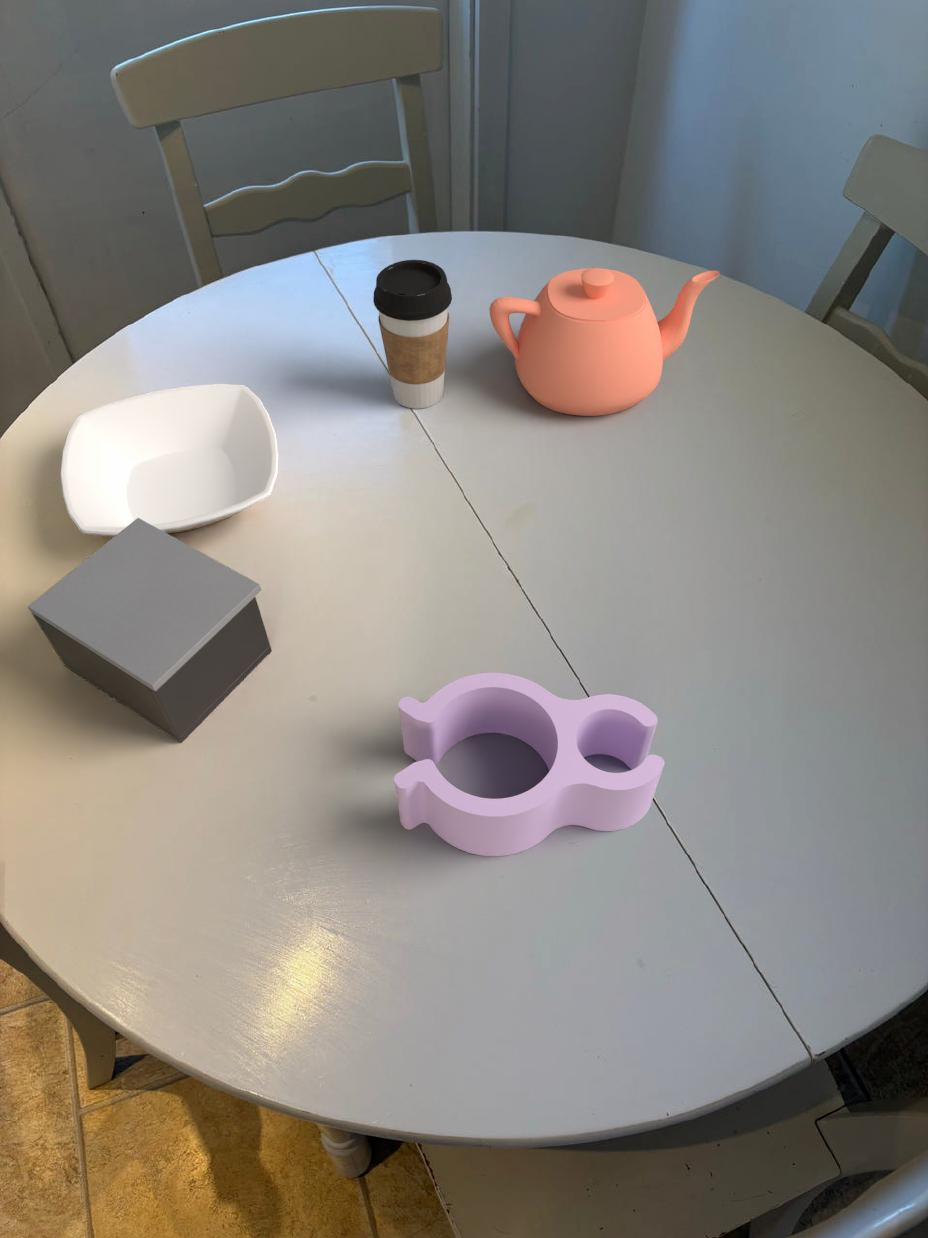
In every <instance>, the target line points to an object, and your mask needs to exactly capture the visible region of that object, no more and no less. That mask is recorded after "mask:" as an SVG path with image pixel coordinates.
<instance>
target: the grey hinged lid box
mask: <svg viewBox="0 0 928 1238" xmlns="http://www.w3.org/2000/svg"><path fill="white" fill-rule="evenodd" d="M31 615H32V616H33V618H34V619H35V621H36V623H37V624H38V626H39V627H40V629H41V630H42V632H43V634H44V636H45V637H46V639H47V640H48V641H49V644H50V645H51V646H52V648H53V650H54V651H55V653H56V654H57V656H58V658H59V659H60V661H61V663H62V664H63V666H64V667H65V668H67V669H68V670H70V671H71V672H73V674H76V675H77V676H79V677H81V679H83V680H85V681H86V682H88V683H90V684H91V685H93V686H94V687H95V688H97V689H99V690H100V691H102V692H103V693H104V694H106V695H108V696H109V697H110V698H112V699H114V700H115V701H116V702H118V703H119V704H121V705H122V706H124V707H126V708H127V709H129V710H131V711H132V712H134V713H135V714H137V715H138V716H139V717H141V718H143V719H144V720H146V721H148V723H150V724H152V725H153V726H154V727H156V728H158V729H159V730H160V731H162V732H164V733H165V734H167V735H168V736H169V737H171V738H173V739H174V740H176V741H178V742H179V743H180V744H182V743H183V742H185V740H186V739H187V738H188V737H189V736H190V735H191V734H192V733H193V732H194V731H195V730H196V729H197V728H198V727H199V726H201V724H202V723H203V722H204V721H205V720H206V719H207V718H208V717H209V716H210V715H211V713H213V712H214V711H215V709H217V708H218V706H220V705H221V703H223V701H224V700H225V699H226V698H227V697H228V696H230V694H231V693H232V692H233V691H234V690H235V689H236V688H237V687H238V686H239V685H240V684H241V683H242V682H243V681H244V680H245V679H246V678H247V677H248V676H249V675H250V674H251V673H252V672H253V671H254V670H255V669H256V668H257V667H258V666H259V665H260V663H262V661H264V660H265V658H267V656H269V655H270V653H271V652H272V647H271V644H270V640H269V637H268V634H267V630H266V627H265V624H264V621H263V617H262V614H261V609H260V607H259V604H258V601H257V598H256V596H255V597H254V598H253V599H252V600H251V601H250V602H249V603H248V604H247V605H246V606H245V607H243V608H242V609H241V610H240V611H239V612H238V613H237V614H236V615H235V616H234V617H233V618H232V619H231V620H230V621H229V622H228V623H227V624H226V625H225V626H224V627H223V628H221V629H220V630H219V631H218V632H217V633H216V634H215V635H214V636H213V637H212V638H211V639H210V640H209V641H208V642H207V643H206V644H205V645H204V646H203V647H202V648H200V649H199V650H198V651H197V652H196V653H195V654H194V655H193V656H192V657H191V658H190V659H189V660H188V661H187V662H186V663H185V664H184V665H183V666H182V667H181V668H180V669H178V670H177V671H176V672H175V673H174V674H173V675H172V676H171V677H170V678H169V679H168V680H167V681H166V682H165V683H164V684H163V685H162V686H161V687H160V688H159V689H157V690H156V691H153V690H152V689H150V688H149V687H147V686H146V685H144V684H142V683H141V682H139V681H138V680H136V679H135V678H133V677H132V676H130V675H128V674H127V673H125V672H124V671H122V670H121V669H119V668H117V667H116V666H114V665H113V664H111V663H110V662H108V661H107V660H105V659H103V658H102V657H100V656H99V655H97V654H96V653H94V652H92V651H91V650H89V649H88V648H86V647H85V646H83V645H82V644H80V643H78V642H77V641H75V640H74V639H72V638H71V637H69V636H67V635H66V634H64V633H63V632H61V631H60V630H58V629H57V628H55V627H53V626H52V625H50V624H49V623H47V622H46V621H44V620H42V619H41V618H39V617H38V616H36V615H35V614H33V613H32V612H31Z"/></svg>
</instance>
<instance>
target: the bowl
mask: <svg viewBox="0 0 928 1238" xmlns="http://www.w3.org/2000/svg"><path fill="white" fill-rule="evenodd" d="M273 425H274V424H273V423H272V420H271V417H270V415H269V412H268V411H267V409H266V407H265V405H264V403H263V402H262V399H260V398H259V396H257V395H256V393H254V392H253V391H252V390H251V389H250V388H249V387H247V386H246V385H243V384H231V383H230V384H229V383H212V384H200V385H199V384H198V385H187V386H180V387H174V388H165V389H159V390H156V391H155V390H154V391H150V392H145V393H141V394H136V395H133V396H129V397H126V398H122V399H118V400H115V401H112V402H107V403H104V404H101V405H99V406H96V407H95V408H92V409H90V410H88V411H85V412H83V413H81V414H79V415H78V416H77V417H76V419H75V420H74V422H73V424H72V426H71V427H70V429H69V431H68V433H67V434H66V438H65V441H64V445H63V448H62V454H61V464H60V471H59V474H60V475H59V476H60V483H61V492H62V498H63V501H64V504H65V508H66V510H67V514H68V516H69V517H70V519H71V520H72V522H73V523H74V525H75V526H76V527H77V528H78V530H79V531H80V532H81V533H82V534H85V535H88V536H89V535H90V536H92V535H93V536H103V537H104V536H105V537H115V536H116V535H117V534H118V533H120V532H121V531H122V530H123V529H125V528H126V527H127V526H128V525H129V524H131V523H132V522H133V521H134V520H136V519H137V518H140V519H142V520H143V521H145V522H147V523H149V524H151V525H152V526H154V527H156V528H158V529H160V530H162V531H163V532H165V533H167V534H175V533H176V534H177V533H181V532H188V531H192V530H197V529H199V528H203V527H206V526H209V525H212V524H215V523H218V522H221V521H224V520H227V519H228V518H231V517H233V516H235V515H237V514H239V513H241V512H243V511H244V510H247V509H248V508H250V507H252V506H254V505H256V504H258V503H260V502H262V501H263V500H265V499H267V498H269V497H270V496H271V494H272V493H273V490H274V487H275V484H276V481H277V478H278V476H279V457H280V455H279V448H278V441H277V440H278V439H277V434H276V431H275V427H274V426H273Z"/></svg>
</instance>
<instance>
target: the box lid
mask: <svg viewBox="0 0 928 1238" xmlns="http://www.w3.org/2000/svg"><path fill="white" fill-rule="evenodd" d="M261 591H262V587H261V584H260V583H258V582H257V581H254V580H252V579H251V578H249V577H248V576H246V575H243V574H241V573H240V572H237V571H236V570H234V568H233V569H232V568H231V567H229V566H228V565H226V564H224V563H222V562H220V561H219V560H216V559H214V558H213V557H211V556H208V555H207V554H205V553H204V552H202V551H200V550H198V549H197V548H194V547H193V546H191V545H189V544H187V543H185V542H184V541H181V540H180V539H178V538H176V537H174V536H172V535H171V534H170V533H165V532H163V531H162V530H160V529H158V528H156V527H154V526H152V525H151V524H149V523H147V522H145V521H143V520H142V519H140V518H137V519H136V520H134V521H133V522H132V523H131V524H129V525H128V526H127V527H126V528H125V529H123V530H122V531H121V532H120V533H118V534H117V535H116V536H112V538H111V539H109V540H108V541H107V542H106V543H104V544H103V545H102V546H100V548H98V549H97V550H96V551H95V552H93V553H92V554H91V555H90V556H88V557H87V558H86V559H85V560H84V561H82V562H81V563H79V564H78V565H77V566H76V567H74V568H73V569H72V570H71V571H70V572H68V573H67V574H66V575H64V576H63V577H62V578H61V579H60V580H58V582H56V583H55V584H54V585H52V586H51V587H50V588H49V589H47V590H46V591H45V592H44V593H42V594H41V595H40V596H39V597H37V598H36V599H35V600H33V601H32V602H31V603H29V604H28V606H27V608H28V610H29V611H30V613H31V614H32V613H33V614H35V615H36V616H38V617H39V618H41V619H42V620H44V621H46V622H47V623H49V624H50V625H52V626H53V627H55V628H57V629H58V630H60V631H61V632H63V633H64V634H66V635H67V636H69V637H71V638H72V639H74V640H75V641H77V642H78V643H80V644H82V645H83V646H85V647H86V648H88V649H89V650H91V651H92V652H94V653H96V654H97V655H99V656H100V657H102V658H103V659H105V660H107V661H108V662H110V663H111V664H113V665H114V666H116V667H117V668H119V669H121V670H122V671H124V672H125V673H127V674H128V675H130V676H132V677H133V678H135V679H136V680H138V681H139V682H141V683H142V684H144V685H146V686H147V687H149V688H150V689H152V690H153V691H156V690H157V689H159V688H160V687H161V686H162V685H163V684H164V683H165V682H166V681H167V680H168V679H169V678H170V677H171V676H172V675H173V674H174V673H175V672H176V671H177V670H178V669H180V668H181V667H182V666H183V665H184V664H185V663H186V662H187V661H188V660H189V659H190V658H191V657H192V656H193V655H194V654H195V653H196V652H197V651H198V650H199V649H200V648H202V647H203V646H204V645H205V644H206V643H207V642H208V641H209V640H210V639H211V638H212V637H213V636H214V635H215V634H216V633H217V632H218V631H219V630H220V629H221V628H223V627H224V626H225V625H226V624H227V623H228V622H229V621H230V620H231V619H232V618H233V617H234V616H235V615H236V614H237V613H238V612H239V611H240V610H241V609H242V608H243V607H245V606H246V605H247V604H248V603H249V602H250V601H251V600H252V599H253V598H254V597H256V596H257V595H258V594H260V592H261Z"/></svg>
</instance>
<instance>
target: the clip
mask: <svg viewBox="0 0 928 1238" xmlns="http://www.w3.org/2000/svg"><path fill="white" fill-rule="evenodd" d="M398 711H399V719H400V729H401V736H402V742H403V751H404V753H405V754H406V755H407V756H408V757H410V758H412V759H413V760H414V761H415V762H413V763H411V764H410V765H408V766H407V767H405V768H404V769H402V770H400V771H399V772H397V773H396V774H395V775H394V778H393V782H394V789H395V795H396V796H395V797H396V801H397V808H398V809H397V810H398V815H399V822H400V824H401V826H402V827H403V828H404V829H405V830H407V831H410V830H413V829H415V828H416V827H417V826H419V825H421V824H427V825H428V826H429V827H430V828H431V830H432V831H433V832H434V833H435V834H436V835H437V836H439V837H440V839H442V840H443V841H445V842H446V843H447V844H449V845H450V846H453V847H454V848H456V849H459V850H460V851H463V852H465V853H469V854H471V855H477V856H483V857H505V856H511V855H515V854H518V853H521V852H525V851H527V850H529V849H531V848H534V847H535V846H536V845H538V844H540V843H541V842H542V841H543V840H545V839H546V838H547V837H548V836H549V835H550V834H552V833H553V832H554V831H556V830H558V829H560V828H563V827H567V826H580V827H584V828H587V829H590V830H593V831H599V832H616V831H617V832H618V831H622V830H624V829H627V828H630V827H632V826H633V825H635V824H637V823H638V822H640V820H642V819H643V818H644V817H645V816H646V815H647V813H648V812H649V810H650V808H651V805H652V803H653V799H654V796H655V794H656V790H657V787H658V785H659V781H660V779H661V776H662V773H663V769H664V767H665V760H664V759H663V757H661V756H660V755H657V754H649V751H650V748H651V744H652V741H653V738H654V736H655V732H656V729H657V725H658V721H659V718H658V715H656V714H655V713H654V711H652V710H651V709H650V708H649V707H647V706H646V705H644V704H643V703H641V702H640V701H638V700H636V699H634V698H630V697H628V696H624V695H620V694H619V695H618V694H612V693H605V694H604V693H603V694H596V695H592V696H588V697H585V698H581V699H566V698H563V697H560V696H557V695H555V694H553V693H551V692H550V691H549V690H547V689H546V688H545V687H543V686H541V685H540V684H538V683H536V682H534V681H532V680H530V679H527V678H525V677H523V676H519V675H514V674H509V673H503V672H482V673H481V672H480V673H476V674H470V675H467V676H464V677H460V678H458V679H456V680H454V681H451V682H449V683H447V684H446V685H444V686H443V687H442V688H440V689H439V690H438V691H436V692H435V693H434V694H432V695H431V696H430V698H428V700H426V701H423V702H421V701H419V700H417V699H416V698H414V697H413V696H410V695H409V696H408V695H407V696H404V697H402V698H401V699H400V701H399V702H398ZM480 734H502V735H507V736H511V737H514V738H516V739H519V740H520V741H523V742H524V743H526V744H527V745H529V747H531V748H533V749H534V750H535V751H536V752H537V753H538V754H539V756H540V758H542V760H543V761H544V764H545V765H546V767H547V769H548V773H547V774H546V775H545V777H544V778H542V780H540V782H538V783H537V784H536V785H535V786H533V787H532V788H530V789H528V790H527V791H525V792H522V793H519V794H517V795H512V796H509V797H503V798H489V797H488V798H487V797H480V796H476V795H472V794H470V793H467V792H466V791H463V790H461V789H459V788H457V787H456V786H455V785H453V784H452V783H450V782H449V781H448V780H447V779H446V778H445V777H444V776H443V774H442V773H441V772H440V771H439V769H438V767H437V766H438V764H439V763H440V761H441V760H442V758H443V757H444V755H446V753H447V752H448V751H449V750H450V749H451V748H452V747H454V746H455V745H457V744H458V743H459V742H461V741H463V740H465V739H467V738H469V737H470V738H471V737H472V736H476V735H477V736H478V735H480ZM593 755H605V756H606V755H607V756H610V757H614V758H616V759H618V760H620V761H621V762H623V763H624V764H625V765H626V766H627V767H628V768H629V769H630V770H627V771H623V772H610V771H605V770H602V769H600V768H597V767H596V766H593V765H592V764H591V763H590V762H588V761H587V760H586V759H585V758H586V757H589V756H593Z"/></svg>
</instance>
